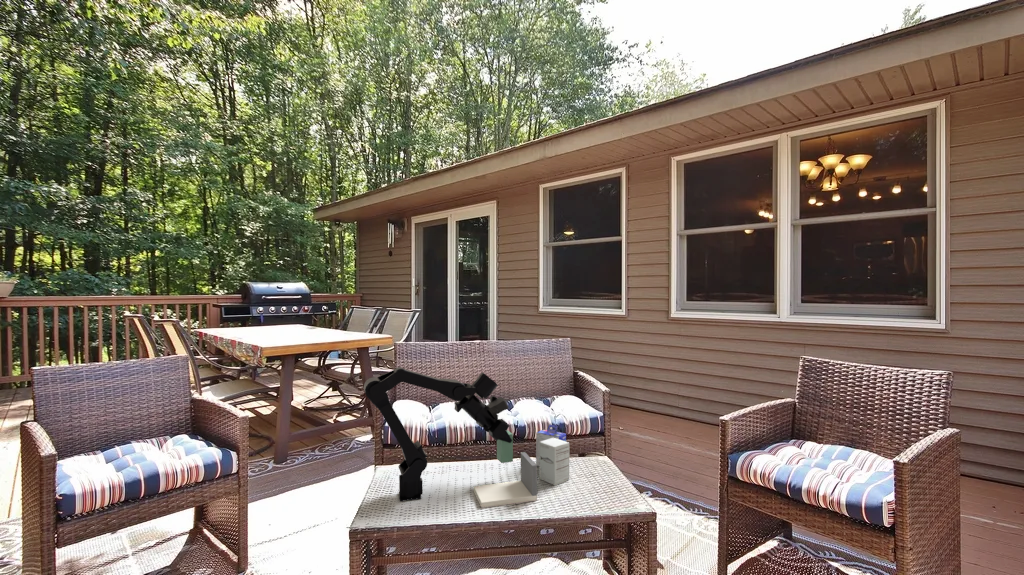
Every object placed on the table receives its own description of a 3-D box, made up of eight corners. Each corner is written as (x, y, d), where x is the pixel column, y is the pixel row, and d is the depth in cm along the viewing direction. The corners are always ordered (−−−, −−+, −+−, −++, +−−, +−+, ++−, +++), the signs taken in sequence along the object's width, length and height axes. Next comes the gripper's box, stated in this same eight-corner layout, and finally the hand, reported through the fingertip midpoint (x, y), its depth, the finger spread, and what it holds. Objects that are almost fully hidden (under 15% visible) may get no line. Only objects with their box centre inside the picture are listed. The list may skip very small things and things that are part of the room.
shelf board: (481, 507, 136) (481, 471, 136) (473, 491, 147) (473, 457, 147) (537, 500, 140) (536, 465, 140) (525, 484, 152) (525, 452, 152)
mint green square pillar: (501, 463, 152) (501, 435, 152) (496, 458, 156) (496, 431, 157) (512, 461, 154) (512, 434, 154) (508, 457, 158) (507, 430, 158)
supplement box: (538, 479, 156) (538, 441, 156) (554, 473, 161) (554, 436, 161) (554, 486, 150) (554, 446, 150) (570, 480, 155) (570, 441, 155)
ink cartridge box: (567, 467, 166) (567, 426, 166) (559, 472, 162) (558, 430, 162) (544, 461, 172) (543, 422, 172) (535, 466, 168) (535, 425, 168)
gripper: (502, 396, 145) (535, 428, 149) (484, 385, 163) (514, 414, 167) (478, 424, 142) (512, 456, 146) (462, 410, 160) (493, 438, 164)
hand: (508, 439), depth 156 cm, fingers closed on mint green square pillar, 4 cm apart
